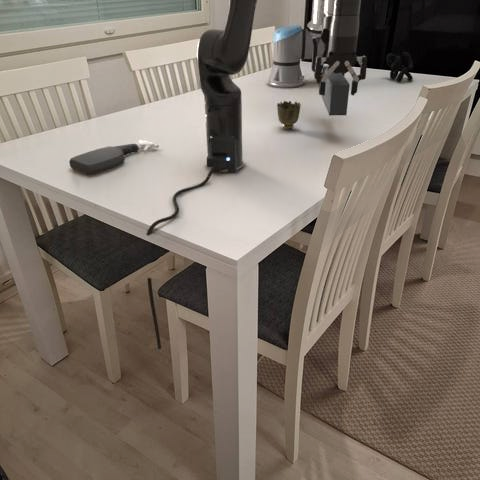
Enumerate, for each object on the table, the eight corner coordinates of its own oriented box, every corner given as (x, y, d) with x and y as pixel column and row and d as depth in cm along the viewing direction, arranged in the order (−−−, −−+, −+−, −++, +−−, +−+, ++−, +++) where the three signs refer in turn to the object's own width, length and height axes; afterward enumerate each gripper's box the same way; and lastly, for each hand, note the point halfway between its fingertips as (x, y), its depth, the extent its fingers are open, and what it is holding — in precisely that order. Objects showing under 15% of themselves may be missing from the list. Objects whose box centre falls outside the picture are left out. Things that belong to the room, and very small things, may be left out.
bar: (346, 115, 128) (349, 84, 123) (329, 115, 128) (331, 84, 124) (334, 93, 150) (337, 66, 145) (320, 93, 150) (322, 66, 145)
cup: (272, 130, 144) (273, 105, 139) (281, 123, 149) (282, 99, 145) (294, 133, 141) (295, 108, 136) (302, 126, 146) (304, 102, 142)
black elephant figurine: (400, 92, 202) (376, 71, 205) (417, 76, 202) (392, 56, 205) (405, 81, 191) (380, 59, 194) (423, 64, 191) (397, 42, 194)
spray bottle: (67, 168, 120) (139, 144, 136) (91, 178, 114) (163, 151, 130) (65, 157, 118) (137, 134, 134) (89, 167, 112) (162, 142, 128)
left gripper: (318, 35, 117) (314, 98, 126) (373, 34, 116) (365, 98, 125) (315, 31, 123) (311, 91, 132) (367, 31, 123) (360, 91, 131)
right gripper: (363, 13, 137) (354, 90, 149) (304, 13, 137) (300, 91, 150) (368, 15, 130) (358, 96, 143) (306, 16, 131) (302, 96, 144)
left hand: (337, 94), depth 128 cm, fingers open, 8 cm apart
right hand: (328, 93), depth 146 cm, fingers closed on bar, 5 cm apart
